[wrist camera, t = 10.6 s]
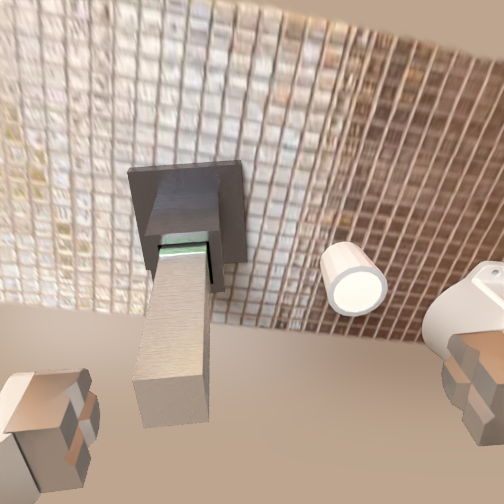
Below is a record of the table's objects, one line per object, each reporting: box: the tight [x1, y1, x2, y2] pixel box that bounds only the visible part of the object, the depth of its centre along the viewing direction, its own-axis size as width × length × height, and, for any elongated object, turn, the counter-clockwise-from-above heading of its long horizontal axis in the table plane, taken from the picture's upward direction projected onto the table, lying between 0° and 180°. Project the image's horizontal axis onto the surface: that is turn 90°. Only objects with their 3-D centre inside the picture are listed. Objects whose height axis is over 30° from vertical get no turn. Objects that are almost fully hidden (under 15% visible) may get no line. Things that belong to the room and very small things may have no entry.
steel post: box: [132, 241, 211, 428], centre depth 34 cm, size 4×4×18 cm
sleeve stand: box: [127, 160, 247, 293], centre depth 45 cm, size 12×12×12 cm
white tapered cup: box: [320, 242, 387, 317], centre depth 52 cm, size 7×7×7 cm
